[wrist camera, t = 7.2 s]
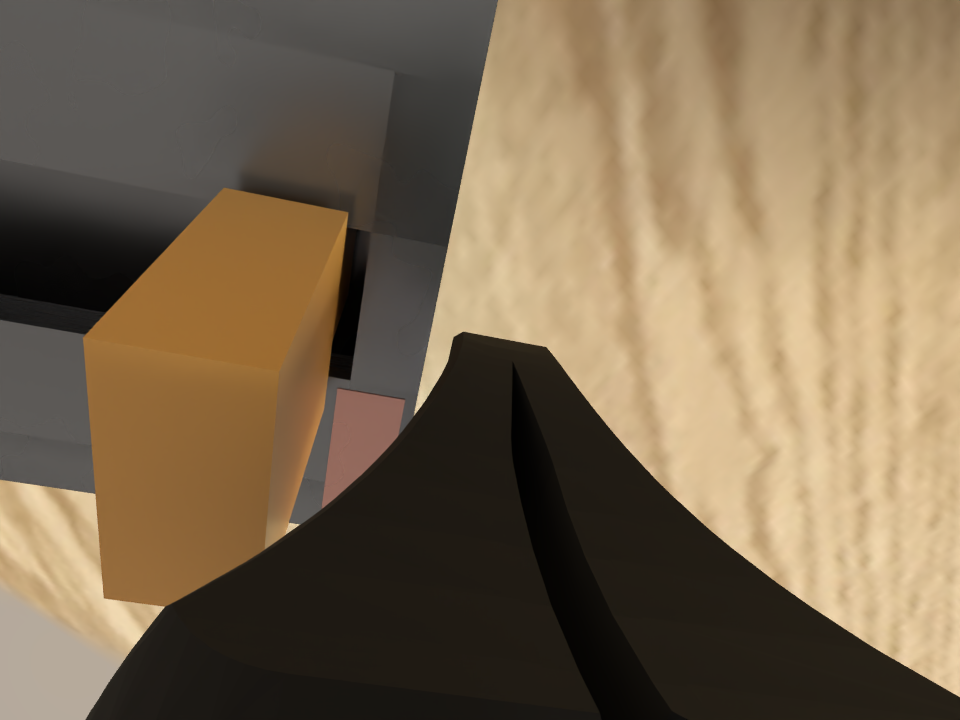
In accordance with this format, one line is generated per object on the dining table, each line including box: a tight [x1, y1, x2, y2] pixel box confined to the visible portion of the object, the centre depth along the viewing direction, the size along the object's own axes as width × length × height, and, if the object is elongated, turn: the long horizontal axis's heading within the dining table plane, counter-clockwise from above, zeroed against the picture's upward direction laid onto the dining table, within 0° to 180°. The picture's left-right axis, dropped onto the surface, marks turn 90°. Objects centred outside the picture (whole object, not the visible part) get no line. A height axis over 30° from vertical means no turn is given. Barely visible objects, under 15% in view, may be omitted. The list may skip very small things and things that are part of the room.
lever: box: [83, 188, 357, 607], centre depth 11 cm, size 4×2×7 cm, turn 168°
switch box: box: [0, 0, 498, 524], centre depth 13 cm, size 10×12×3 cm
